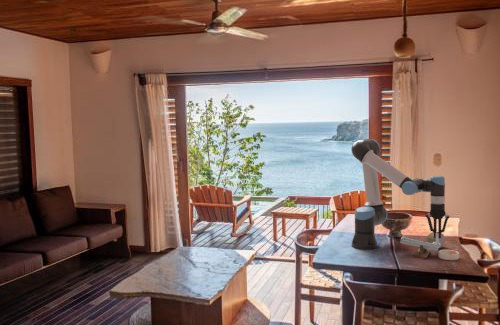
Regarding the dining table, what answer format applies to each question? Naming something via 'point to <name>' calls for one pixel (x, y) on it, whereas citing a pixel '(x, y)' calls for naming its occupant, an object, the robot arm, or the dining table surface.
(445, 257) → the bowl
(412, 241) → the lever
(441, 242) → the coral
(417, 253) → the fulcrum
